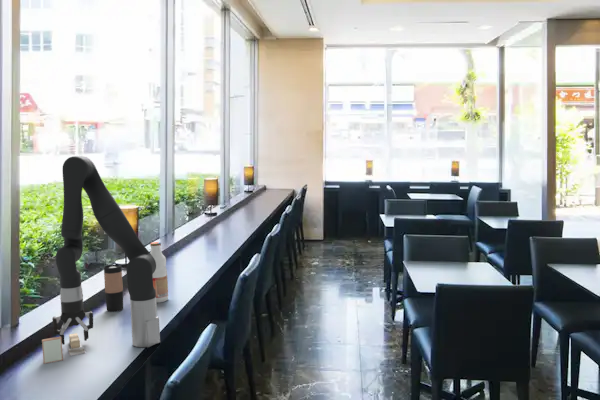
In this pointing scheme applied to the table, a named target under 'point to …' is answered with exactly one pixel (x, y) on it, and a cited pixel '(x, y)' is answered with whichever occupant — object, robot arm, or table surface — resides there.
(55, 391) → the table surface
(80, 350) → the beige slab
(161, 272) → the fruit juice
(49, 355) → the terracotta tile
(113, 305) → the travel mug
